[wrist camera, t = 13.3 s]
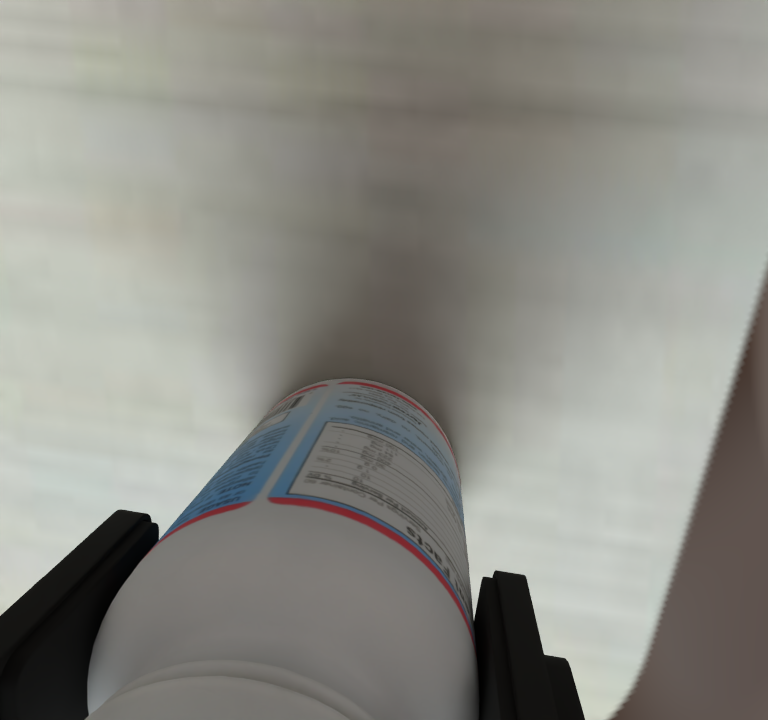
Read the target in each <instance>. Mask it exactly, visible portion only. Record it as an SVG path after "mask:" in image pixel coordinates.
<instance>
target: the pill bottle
mask: <svg viewBox="0 0 768 720" xmlns="http://www.w3.org/2000/svg"><path fill="white" fill-rule="evenodd" d="M479 700H480V697H479V671H478V663H477V651H476V642H475V630H474V619H473V609H472V598H471V586H470V577H469V563H468V554H467V545H466V536H465V527H464V514H463V505H462V495H461V483H460V477H459V471H458V465H457V462H456V459H455V456H454V453H453V450H452V447H451V445H450V443H449V441H448V439H447V437H446V435H445V433H444V432H443V430H442V428H441V427H440V425H439V424H438V422H437V421H436V420H435V419H434V417H433V416H432V415H431V414H430V413H429V412H428V411H427V410H426V409H425V408H424V407H423V406H422V405H421V404H419V403H418V402H417V401H415V400H414V399H413V398H411V397H410V396H408V395H407V394H405V393H403V392H401V391H399V390H397V389H395V388H393V387H391V386H388V385H385V384H382V383H378V382H375V381H369V380H364V379H352V378H344V379H332V380H326V381H321V382H318V383H314V384H311V385H309V386H306V387H303V388H301V389H299V390H297V391H296V392H294V393H292V394H290V395H289V396H287V397H286V398H284V399H283V400H282V401H281V402H279V403H278V404H277V405H276V406H275V407H274V408H273V409H272V410H271V411H270V412H269V413H268V414H267V415H266V416H265V417H264V418H263V419H262V420H261V421H260V423H259V424H258V425H257V426H256V427H255V428H254V430H253V431H252V432H251V433H250V434H249V435H248V436H247V438H246V439H245V440H244V441H243V442H242V443H241V445H240V446H239V447H238V448H237V449H236V450H235V452H234V453H233V454H232V455H231V456H230V457H229V459H228V460H227V461H226V462H225V463H224V465H223V466H222V467H221V468H220V469H219V470H218V472H217V473H216V474H215V475H214V476H213V477H212V478H211V480H210V481H209V482H208V483H207V484H206V486H205V487H204V488H203V489H202V491H201V492H200V493H199V494H198V495H197V496H196V497H195V499H194V500H193V501H192V502H191V503H190V504H189V506H188V507H187V508H186V509H185V510H184V511H183V513H182V514H181V515H180V516H179V517H178V518H177V520H176V521H175V522H174V523H173V524H172V525H171V527H170V528H169V529H168V530H167V531H166V533H165V534H164V535H163V536H162V537H161V538H160V540H159V541H158V542H157V543H156V544H155V545H154V547H153V548H152V549H151V550H150V551H149V552H148V553H147V555H146V556H145V557H144V558H143V559H142V560H141V562H140V563H139V564H138V565H137V567H136V568H135V569H134V571H133V572H132V574H131V575H130V576H129V578H128V579H127V580H126V581H125V583H124V584H123V586H122V587H121V588H120V590H119V592H118V593H117V595H116V596H115V598H114V600H113V601H112V603H111V605H110V607H109V609H108V611H107V613H106V615H105V617H104V619H103V620H102V623H101V626H100V629H99V631H98V634H97V637H96V640H95V642H94V645H93V650H92V655H91V659H90V664H89V671H88V681H87V702H88V712H89V716H88V717H87V718H86V719H84V720H479Z"/></svg>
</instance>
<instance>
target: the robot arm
mask: <svg viewBox="0 0 768 720" xmlns="http://www.w3.org/2000/svg"><path fill="white" fill-rule="evenodd" d="M158 541H159V527H158V524H156V523H152V522H151V517H150V515H148V514H145V513H139V512H133V511H127V510H117V511H116V512H114V513H113V514H112V515H111V516H110V517H109V518H108V519H107V520H106V521H105V522H103V523H102V524H101V525H100V526H99V527H98V528H97V529H96V530H95V531H94V532H93V533H91V534H90V535H89V536H88V537H87V538H86V539H85V540H84V541H83V542H82V543H80V544H79V545H78V546H77V547H76V548H75V549H74V550H73V551H72V552H71V553H69V554H68V555H67V556H66V557H65V558H64V559H63V560H62V561H61V562H60V563H58V564H57V565H56V566H55V567H54V568H53V569H52V570H51V571H50V572H49V573H47V574H46V575H45V576H44V577H43V578H42V579H40V580H39V581H38V582H37V583H36V584H35V585H34V586H33V587H32V588H31V589H29V590H28V591H27V592H26V593H25V594H24V595H23V596H22V597H21V598H20V599H18V600H17V601H16V602H15V603H14V604H13V605H12V606H11V607H10V608H9V609H7V610H6V611H5V612H4V613H3V614H2V615H1V616H0V720H84V719H86V718H87V717H88V716H89V712H88V702H87V681H88V671H89V664H90V659H91V655H92V650H93V645H94V642H95V640H96V637H97V634H98V631H99V629H100V626H101V623H102V620H103V619H104V617H105V615H106V613H107V611H108V609H109V607H110V605H111V603H112V601H113V600H114V598H115V596H116V595H117V593H118V592H119V590H120V588H121V587H122V586H123V584H124V583H125V581H126V580H127V579H128V578H129V576H130V575H131V574H132V572H133V571H134V569H135V568H136V567H137V565H138V564H139V563H140V562H141V560H142V559H143V558H144V557H145V556H146V555H147V553H148V552H149V551H150V550H151V549H152V548H153V547H154V545H155V544H156V543H157V542H158ZM474 630H475V642H476V651H477V663H478V671H479V697H480V700H479V720H585V718H584V714H583V711H582V707H581V704H580V700H579V696H578V693H577V689H576V686H575V682H574V679H573V675H572V672H571V668H570V666H569V663H568V661H567V660H566V659H565V658H560V657H554V656H548V655H544V653H543V649H542V644H541V640H540V635H539V631H538V627H537V622H536V618H535V614H534V609H533V605H532V601H531V596H530V592H529V588H528V583H527V579H526V576H525V575H520V574H514V573H508V572H502V571H495V572H494V574H493V578H489V577H483V579H482V582H481V587H480V592H479V598H478V603H477V608H476V614H475V619H474Z"/></svg>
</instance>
